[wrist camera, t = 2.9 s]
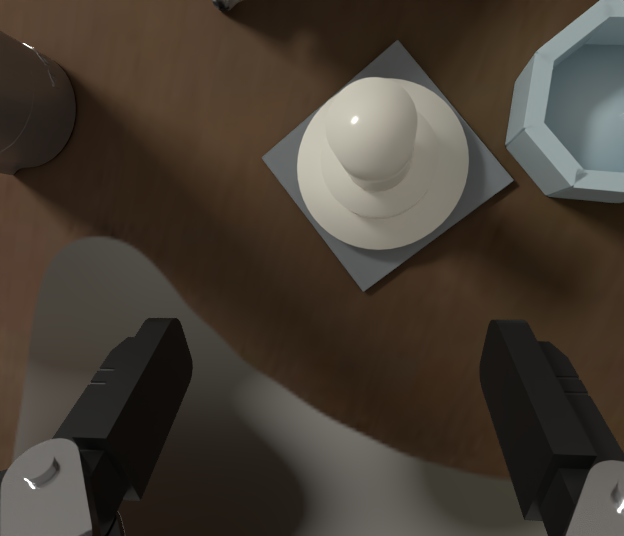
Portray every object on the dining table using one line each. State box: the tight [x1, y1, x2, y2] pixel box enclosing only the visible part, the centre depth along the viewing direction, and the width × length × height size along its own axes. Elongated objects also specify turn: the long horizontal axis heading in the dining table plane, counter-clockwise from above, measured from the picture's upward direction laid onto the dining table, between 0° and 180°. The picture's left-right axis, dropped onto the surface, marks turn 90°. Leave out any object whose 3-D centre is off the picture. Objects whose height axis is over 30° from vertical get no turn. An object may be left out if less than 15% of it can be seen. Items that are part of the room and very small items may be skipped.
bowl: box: [505, 0, 624, 203], centre depth 24 cm, size 10×10×4 cm
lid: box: [297, 77, 469, 250], centre depth 23 cm, size 11×11×10 cm
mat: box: [262, 40, 514, 292], centre depth 28 cm, size 12×12×1 cm
